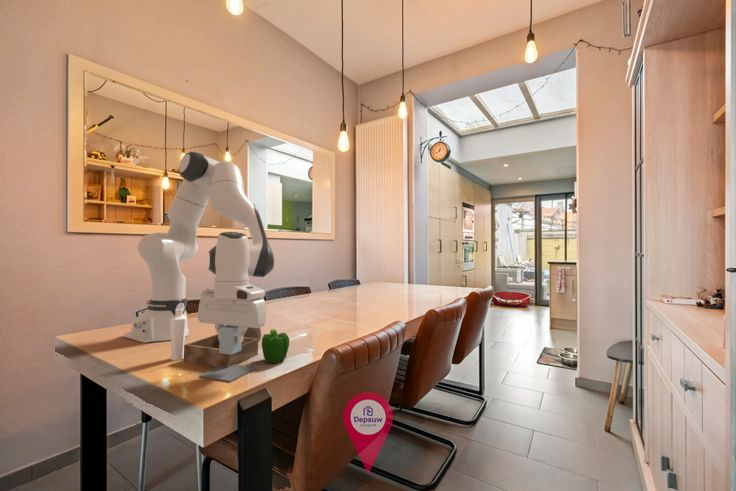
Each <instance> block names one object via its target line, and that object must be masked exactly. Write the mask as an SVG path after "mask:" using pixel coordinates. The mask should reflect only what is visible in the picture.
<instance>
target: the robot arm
mask: <svg viewBox="0 0 736 491" xmlns="http://www.w3.org/2000/svg"><path fill="white" fill-rule="evenodd" d="M178 173H179V176H180V177H181V178H182V179H183V180H182V182H181V183H180V184H179V186H178V189H177V190H176V193H175V195H174V197H173V199H172V201H171V204H170V206H169V208H168V211H167V213H166V214H167V218H168V220H169V227H168V232H155V233H149V234H146V235H144V236H142V237H141V238H140V239H139V241H138V243H137V246H136V248H137V253H138V255H139V257H140V258H141V259H143V260H144V261H145V263H146V266H147V267H148V270H149V274H150V279H151V294H150V295H151V297H150V298H151V299H150V300H146V301H145V302H146V303H145V305H147V308H146V310H145V311H143V312H142V313H141V314H140V315H139V316H137V317H135V318H134V320H133V321H132V326H131V331H128V332H126V333H124V334H123V337H124V338H127V339H130V340H134V341H136V342H140V343H143V344H144V343H151V342H163V341H171V330H170V318H172V317H174V316H175V313H176V310H175V309H183V313H182V315H183V316H186V317H187V318H188V312H187V310H186V308H187V303H188V301H187V300H188V299H187V297H186V290H187V288H186V287H187V278H186V276H185V275H184V274H183V272H182V270H181V268H180V263H183V262H187V261H188V260H191V259H193V258H195V256H197V254H198V251H199V244H198V242H197V238H198V236H197V235H198V229H199V225H200V222H201V220H202V217H203V215H204V213H205V210H206V208H207V206H208V203H210V206H211V208H212V209H213V210H214V211H215V212H216V213H217V214H219V215H221V216H223V217H224V218H228V219H230V220H233V221H236V222H238V223H241V224H243V225H244V226H246V227H247V229H248V231H249V234H250V237H251V241H252V244H250V242H249V238H248V235H247V234H245V233H244V232H243V233H242V232H238V231H224V232H220V233H219V234H218V235H217V239H216V240H217V241H216V245H215V246H212V248H211V249H210V250H209V251H208V254H209V257H208V258H209V261H208V263H209V266H208V268H207V269H208V271H210V272H211V273H213V275H215V276H214V280H213V281H214V289H209V288H207V289H205V290H203V291H202V292H201V293H200V300H199V304H198V310H197V320H198V322H199V323H202V324H203V323H204V324H212V325H214V330H215V331H216V334H218V340H219V339H220V327H222V326H225V325H230V326H238V330H240V331H239V333H238V335H236V336H235V342H237V343H241V342H243V335H244V334H245V332H246V330H247V327H250V328H259V327H260V328H261V327H264V325H266V323H267V304H266V301H265V300H264V299H263V298H265V296H266V291H265V290H264V289H262V288H261V287H257V285H254V284H251V283H250V277H254V278H255V277H259V278H264V277H266V276H267V275H268V274H269V273H271V272H272V271H273V270H274V268H275V267H274V266H275V256H274V253H273V250H272V248H271V246H270V244H269V240H268V237H267V234H266V231H265V227H264V225H263V224H264V223H263V221H262V218H261V215H260V213H259V210H258V208H257V206H256V204H254V203H253V202H251V200H250V199H249V198H248V197H247V195H246V192H245V183H244V182H245V181H244V177H243V174H242V172H241V169H240V168H239V167H238V165H236V164H235V163H233V162H231V161H225V160H224V161H219V160H216V159H214V158H211V157H208V156H206V155H203V153H200V152H196V151H189V152H186V153H185V154H184V155H183V156H182V158H181V160H180V161H179V164H178ZM189 332H190V328H189V326H188V322H187V323H186V332H185V337H187V336H189V335H190V333H189Z"/></svg>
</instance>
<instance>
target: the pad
mask: <svg viewBox="0 0 736 491" xmlns="http://www.w3.org/2000/svg"><path fill="white" fill-rule="evenodd" d="M255 370H256V367H254V366H247V365H243V364H237V365H236V364H234V365H232V366H230V367H228V368H227V367H221V366H219V367H214V368H212V369H210V370H207V371H206V372H204V373H202V374H199V375H198V377H199V378H204V379H208V380H215V381H221V382H226V383H233V382H234V381H235V380H238V379H239V378H241V377H243V376H244V375H247V374H249V373H251V372H252V371H255Z"/></svg>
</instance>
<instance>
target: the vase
mask: <svg viewBox="0 0 736 491" xmlns="http://www.w3.org/2000/svg"><path fill="white" fill-rule="evenodd" d="M243 337H246V338H254V339H258V343H259V342H260V340H262V329H261V327H259V328H250V327H247V330H246V332H245V334H244V335H243Z"/></svg>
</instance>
